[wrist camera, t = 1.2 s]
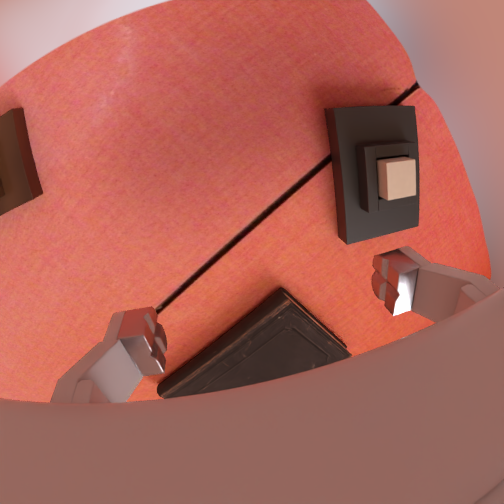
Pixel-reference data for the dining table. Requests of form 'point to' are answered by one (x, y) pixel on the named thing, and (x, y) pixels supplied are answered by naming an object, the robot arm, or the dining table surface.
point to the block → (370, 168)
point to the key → (396, 177)
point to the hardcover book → (259, 350)
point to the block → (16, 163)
